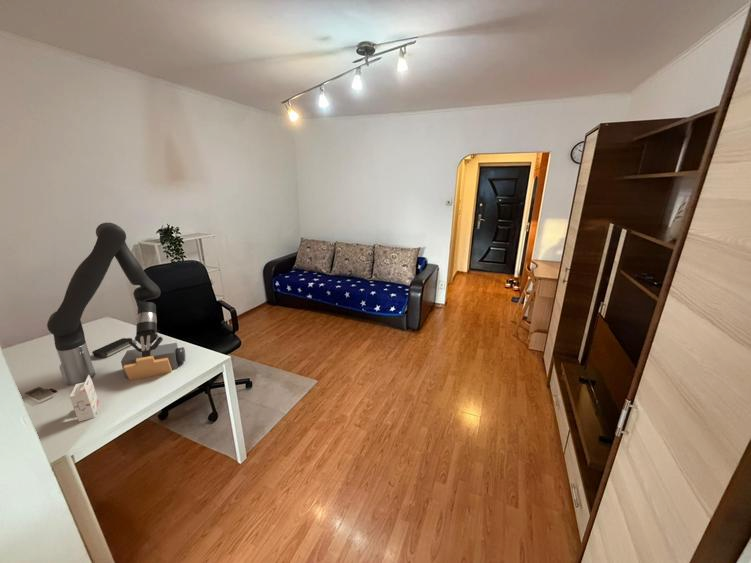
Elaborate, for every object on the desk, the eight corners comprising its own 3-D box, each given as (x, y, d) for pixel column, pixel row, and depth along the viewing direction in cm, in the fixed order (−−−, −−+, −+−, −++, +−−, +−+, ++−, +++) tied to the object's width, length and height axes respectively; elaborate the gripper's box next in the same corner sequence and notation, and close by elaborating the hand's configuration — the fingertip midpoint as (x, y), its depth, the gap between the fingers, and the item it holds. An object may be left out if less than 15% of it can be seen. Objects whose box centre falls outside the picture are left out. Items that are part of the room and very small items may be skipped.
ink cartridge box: (83, 408, 117) (73, 377, 113) (99, 404, 120) (90, 373, 115) (77, 422, 111) (66, 390, 106) (95, 417, 113) (85, 385, 109)
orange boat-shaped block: (129, 380, 134) (121, 363, 127) (130, 377, 135) (122, 360, 128) (171, 372, 140) (165, 355, 133) (171, 369, 141) (166, 353, 134)
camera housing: (125, 380, 135) (120, 361, 131) (131, 368, 143) (127, 350, 140) (184, 369, 144) (181, 351, 141) (186, 358, 153) (183, 341, 150)
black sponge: (104, 360, 149) (102, 353, 148) (91, 357, 151) (90, 351, 150) (136, 344, 164) (134, 338, 163) (124, 342, 166) (123, 336, 165)
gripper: (126, 323, 133) (124, 360, 127) (161, 318, 139) (161, 354, 132) (131, 328, 139) (130, 364, 133) (165, 324, 145) (165, 358, 138)
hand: (146, 359), depth 132 cm, fingers closed
